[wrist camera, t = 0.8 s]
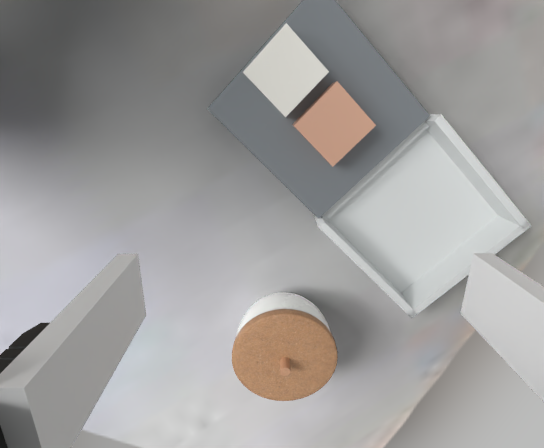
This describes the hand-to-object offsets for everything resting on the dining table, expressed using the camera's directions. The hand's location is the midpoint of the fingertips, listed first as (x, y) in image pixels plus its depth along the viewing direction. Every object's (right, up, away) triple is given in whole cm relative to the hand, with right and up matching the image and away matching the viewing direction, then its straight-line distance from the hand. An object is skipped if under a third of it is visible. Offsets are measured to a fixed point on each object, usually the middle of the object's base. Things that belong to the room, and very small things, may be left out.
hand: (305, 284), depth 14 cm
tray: (+14, +3, +24) cm, 28 cm away
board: (+3, +14, +21) cm, 25 cm away
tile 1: (+4, +12, +18) cm, 22 cm away
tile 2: (0, +16, +17) cm, 23 cm away
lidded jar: (0, -9, +28) cm, 30 cm away
